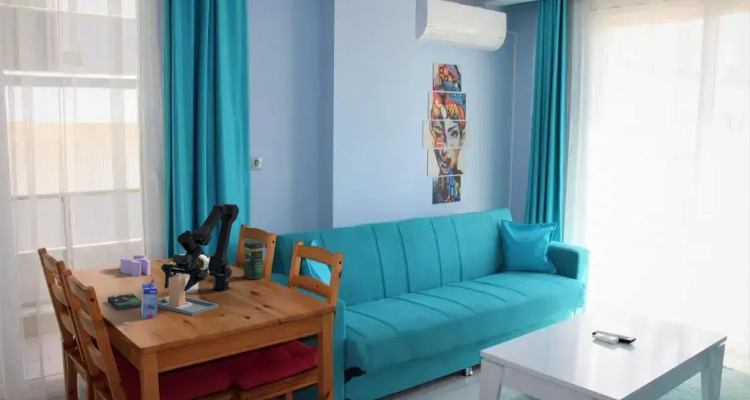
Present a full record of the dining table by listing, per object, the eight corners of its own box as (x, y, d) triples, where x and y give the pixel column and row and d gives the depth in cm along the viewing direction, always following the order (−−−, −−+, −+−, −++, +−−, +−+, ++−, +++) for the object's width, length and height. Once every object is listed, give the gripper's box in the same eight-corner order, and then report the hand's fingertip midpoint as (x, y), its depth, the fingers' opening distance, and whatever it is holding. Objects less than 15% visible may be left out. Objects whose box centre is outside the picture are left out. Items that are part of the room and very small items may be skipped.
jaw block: (175, 304, 264) (175, 274, 263) (185, 305, 263) (185, 275, 261) (168, 307, 260) (168, 276, 258) (178, 308, 258) (178, 277, 257)
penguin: (217, 274, 333) (191, 266, 324) (223, 258, 334) (197, 250, 325) (224, 277, 326) (197, 269, 317) (230, 261, 327) (203, 253, 318)
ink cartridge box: (158, 319, 246) (157, 282, 244) (142, 321, 244) (142, 283, 242) (155, 312, 255) (155, 276, 253) (140, 313, 253) (140, 277, 251)
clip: (156, 274, 316) (156, 260, 315) (131, 277, 308) (130, 263, 307) (140, 266, 331) (140, 253, 330) (116, 269, 322) (115, 256, 322)
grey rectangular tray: (150, 306, 262) (150, 299, 262) (176, 299, 274) (176, 292, 274) (192, 317, 250) (192, 310, 250) (218, 309, 262) (218, 302, 262)
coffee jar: (265, 278, 315) (266, 240, 313) (252, 280, 310) (252, 242, 308) (254, 274, 322) (255, 237, 320) (241, 276, 317) (241, 239, 315)
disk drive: (107, 303, 267) (117, 311, 255) (106, 296, 267) (117, 305, 255) (132, 299, 273) (144, 308, 262) (132, 293, 273) (144, 301, 261)
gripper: (163, 244, 265) (146, 276, 256) (202, 248, 259) (186, 281, 250) (175, 259, 273) (158, 290, 264) (213, 263, 268) (198, 296, 259)
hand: (175, 289), depth 259 cm, fingers open, 9 cm apart
